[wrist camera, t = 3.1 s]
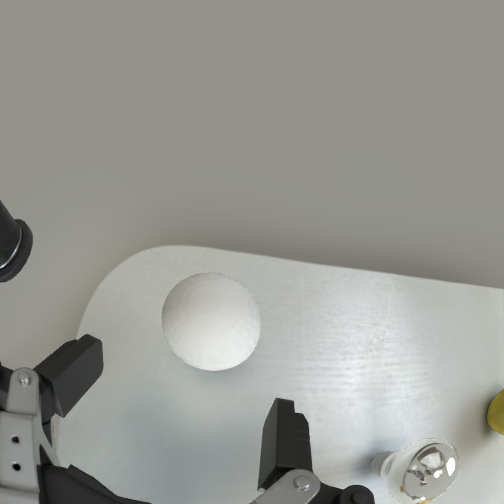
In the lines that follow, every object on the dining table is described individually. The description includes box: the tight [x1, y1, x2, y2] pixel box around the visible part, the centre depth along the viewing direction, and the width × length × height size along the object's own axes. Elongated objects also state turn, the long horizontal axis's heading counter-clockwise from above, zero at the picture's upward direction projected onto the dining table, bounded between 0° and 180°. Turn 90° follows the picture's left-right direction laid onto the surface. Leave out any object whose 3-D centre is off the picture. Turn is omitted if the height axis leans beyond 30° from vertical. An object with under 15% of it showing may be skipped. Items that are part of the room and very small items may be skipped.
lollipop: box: [162, 273, 261, 371], centre depth 20 cm, size 6×6×15 cm
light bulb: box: [371, 438, 460, 504], centre depth 15 cm, size 7×7×12 cm
